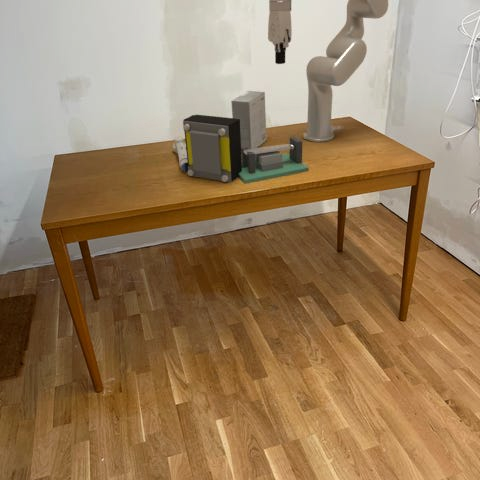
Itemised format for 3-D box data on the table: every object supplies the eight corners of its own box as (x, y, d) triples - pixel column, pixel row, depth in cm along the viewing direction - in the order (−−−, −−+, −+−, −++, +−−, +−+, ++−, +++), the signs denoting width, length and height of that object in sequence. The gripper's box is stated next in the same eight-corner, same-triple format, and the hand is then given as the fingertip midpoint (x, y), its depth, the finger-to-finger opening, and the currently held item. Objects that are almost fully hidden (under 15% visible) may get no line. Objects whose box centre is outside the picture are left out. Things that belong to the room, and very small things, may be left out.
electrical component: (185, 177, 164) (179, 121, 154) (200, 167, 172) (196, 113, 161) (229, 185, 157) (225, 127, 146) (243, 174, 164) (240, 118, 154)
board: (288, 156, 176) (288, 132, 172) (308, 170, 163) (309, 145, 159) (228, 167, 169) (227, 143, 165) (245, 183, 156) (244, 157, 152)
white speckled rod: (178, 163, 165) (171, 133, 184) (180, 179, 169) (172, 148, 188) (193, 161, 166) (184, 131, 185) (194, 177, 170) (185, 147, 189)
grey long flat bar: (289, 146, 168) (289, 142, 167) (295, 149, 164) (295, 145, 164) (242, 152, 162) (242, 148, 161) (247, 156, 158) (247, 152, 158)
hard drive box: (250, 138, 196) (248, 90, 186) (266, 140, 193) (266, 91, 183) (233, 150, 184) (230, 100, 174) (251, 153, 181) (249, 101, 171)
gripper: (261, 6, 163) (262, 61, 172) (279, 8, 151) (279, 68, 160) (280, 4, 165) (280, 59, 175) (300, 7, 153) (299, 65, 163)
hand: (280, 63), depth 168 cm, fingers closed
